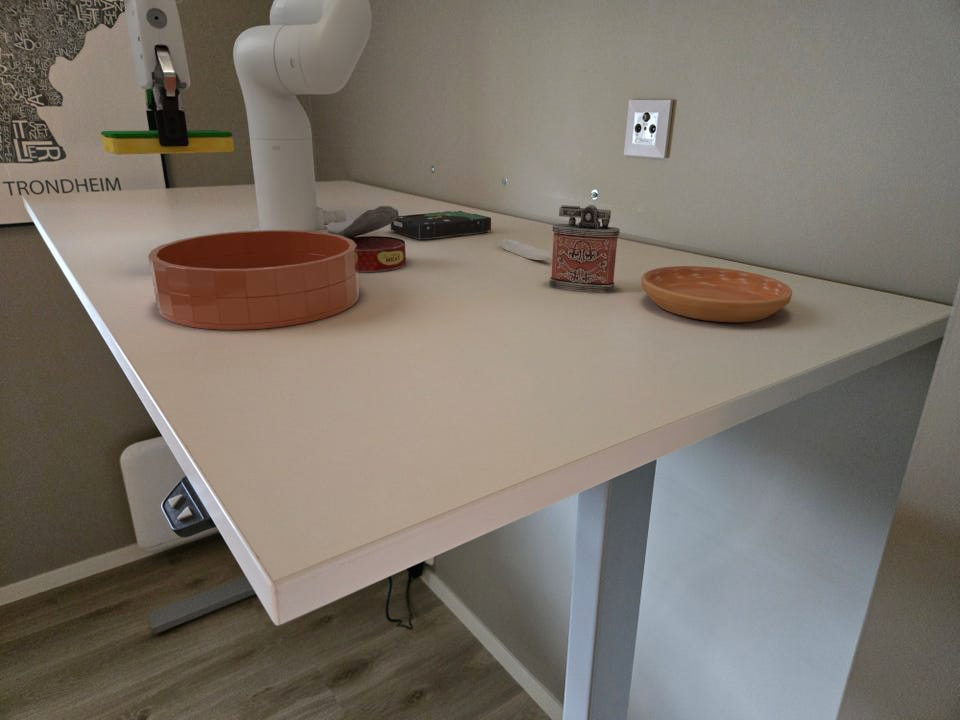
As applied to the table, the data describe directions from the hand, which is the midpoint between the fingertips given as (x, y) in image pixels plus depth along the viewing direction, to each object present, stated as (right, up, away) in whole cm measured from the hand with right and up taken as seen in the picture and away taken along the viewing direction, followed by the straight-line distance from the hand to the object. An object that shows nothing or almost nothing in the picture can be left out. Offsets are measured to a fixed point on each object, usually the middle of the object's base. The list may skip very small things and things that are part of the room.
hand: (169, 143), depth 82 cm
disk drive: (+32, -5, +33) cm, 46 cm away
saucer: (+65, -21, -8) cm, 69 cm away
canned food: (+24, -14, +10) cm, 29 cm away
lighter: (+52, -18, -1) cm, 55 cm away
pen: (+46, -12, +16) cm, 50 cm away
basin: (+14, -20, -8) cm, 26 cm away
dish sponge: (0, -1, 0) cm, 1 cm away
